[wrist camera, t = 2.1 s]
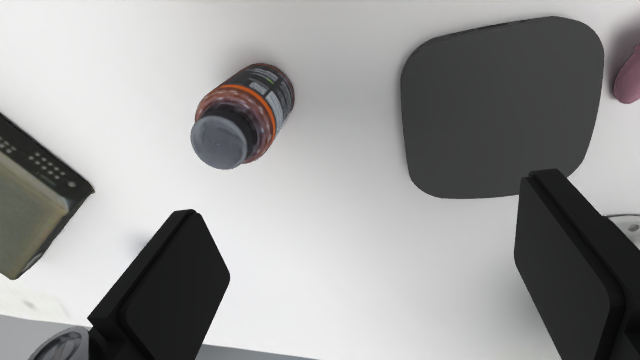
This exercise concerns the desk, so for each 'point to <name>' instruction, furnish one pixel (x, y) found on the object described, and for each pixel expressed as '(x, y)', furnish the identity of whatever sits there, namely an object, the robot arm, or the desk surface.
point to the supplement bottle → (242, 117)
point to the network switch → (32, 200)
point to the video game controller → (629, 79)
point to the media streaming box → (500, 105)
